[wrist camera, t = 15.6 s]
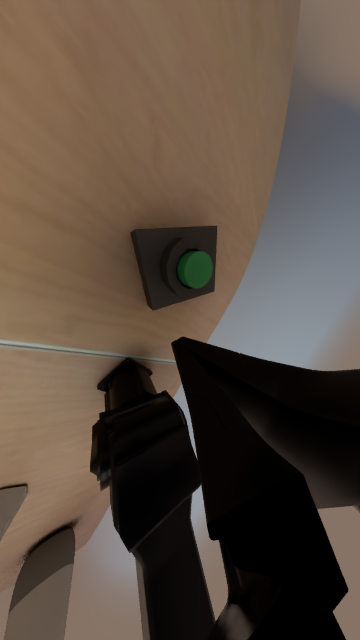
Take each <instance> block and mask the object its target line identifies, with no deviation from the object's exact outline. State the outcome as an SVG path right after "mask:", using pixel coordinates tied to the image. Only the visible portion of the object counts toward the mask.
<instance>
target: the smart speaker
mask: <svg viewBox="0 0 360 640" xmlns="http://www.w3.org/2000/svg"><path fill="white" fill-rule="evenodd" d="M74 555H75V534H74V531H73V529H72V528H64V529H61V530H59V531H57V532H55V533H54V534H52V535H50V536H49V537H47V538H46V539H45V540H43V541H42V542H41V543H40V544H39V545H38V546H36V547H35V549H34V550H33V551H32V552H31V553H30V554H29V556H28V557H27V559H26V560H25V562H24V564H23V566H22V568H21V570H20V573H19V575H18V578H17V581H16V584H15V588H14V591H13V595H12V600H11V604H10V609H9V614H8V619H7V625H6V630H5V635H4V640H64V635H65V627H66V619H67V611H68V603H69V596H70V588H71V580H72V572H73V564H74Z"/></svg>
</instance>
